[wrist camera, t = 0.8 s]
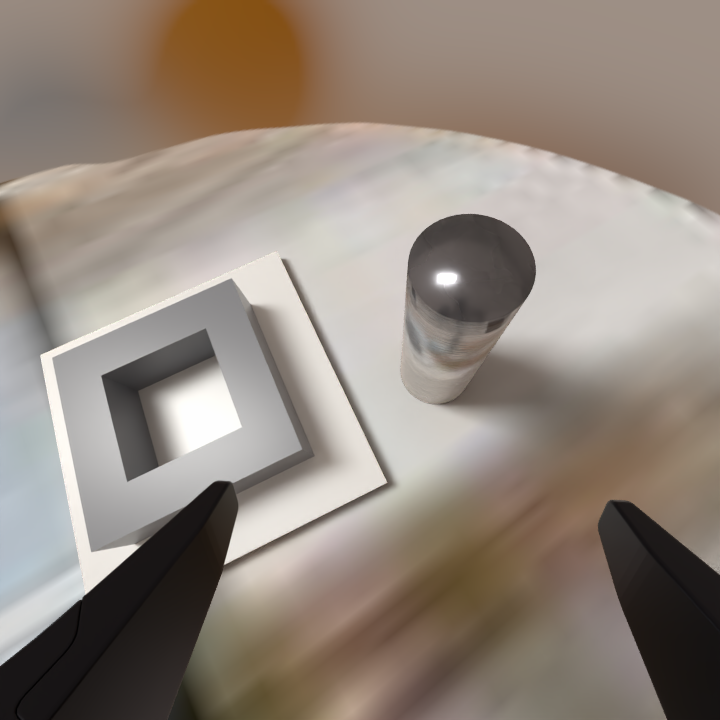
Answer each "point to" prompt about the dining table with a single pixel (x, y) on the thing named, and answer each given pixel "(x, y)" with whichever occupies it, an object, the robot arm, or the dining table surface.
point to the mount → (204, 418)
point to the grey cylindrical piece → (460, 301)
